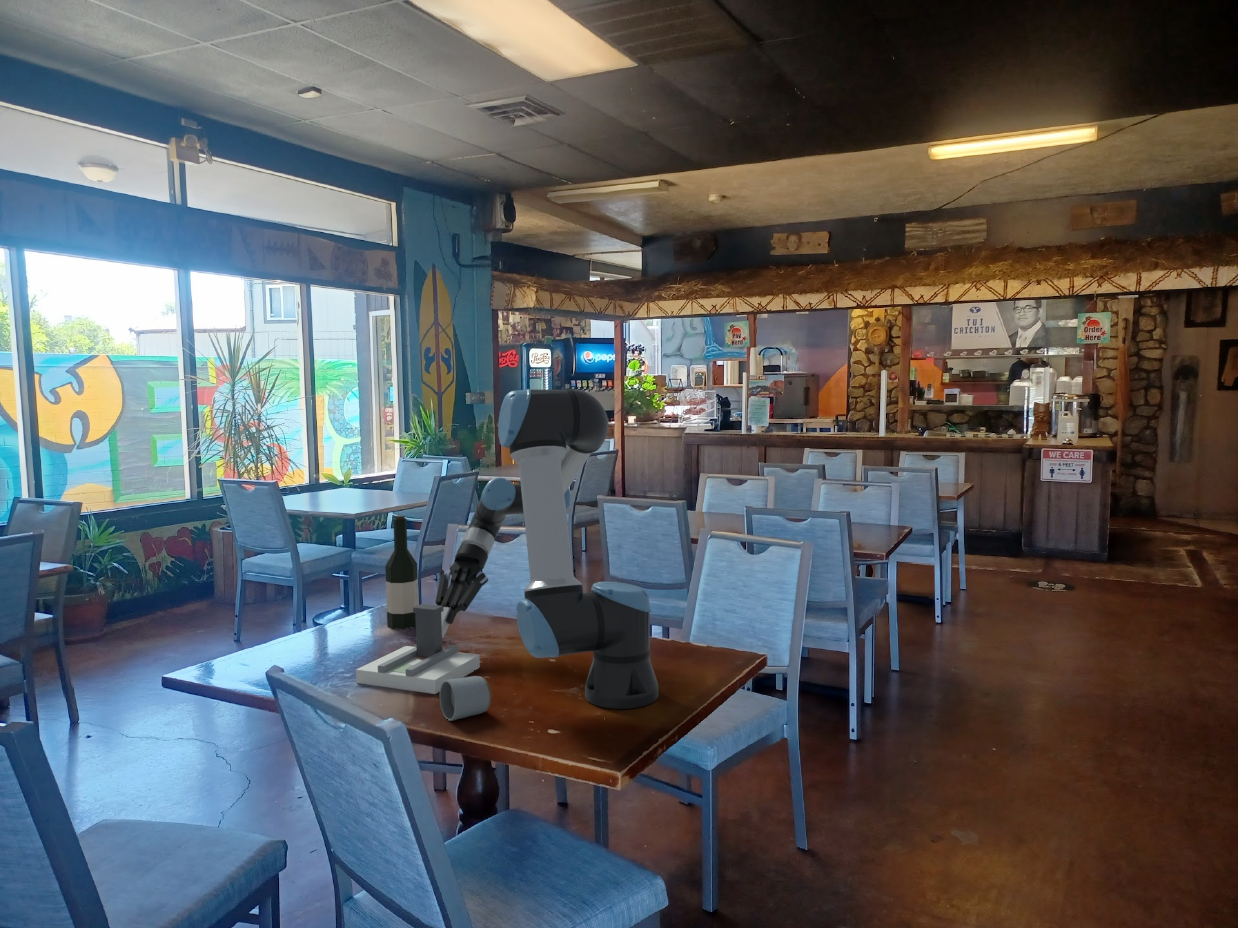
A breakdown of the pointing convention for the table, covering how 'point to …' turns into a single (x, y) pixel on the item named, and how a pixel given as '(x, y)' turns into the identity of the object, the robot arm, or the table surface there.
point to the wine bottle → (401, 580)
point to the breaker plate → (418, 669)
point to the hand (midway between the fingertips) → (438, 634)
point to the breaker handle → (428, 629)
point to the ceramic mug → (464, 697)
